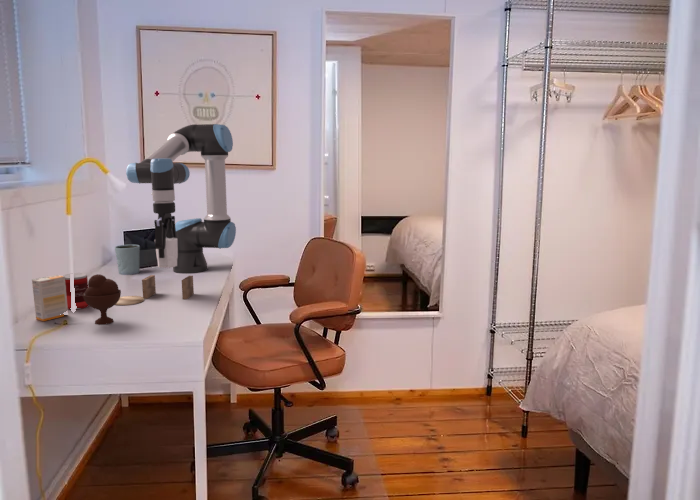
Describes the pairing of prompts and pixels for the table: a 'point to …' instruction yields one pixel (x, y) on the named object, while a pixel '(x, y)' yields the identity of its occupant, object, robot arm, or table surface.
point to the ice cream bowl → (102, 296)
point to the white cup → (170, 252)
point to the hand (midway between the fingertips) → (167, 264)
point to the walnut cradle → (150, 288)
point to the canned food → (77, 289)
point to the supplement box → (49, 297)
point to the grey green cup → (128, 259)
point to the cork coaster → (130, 300)
